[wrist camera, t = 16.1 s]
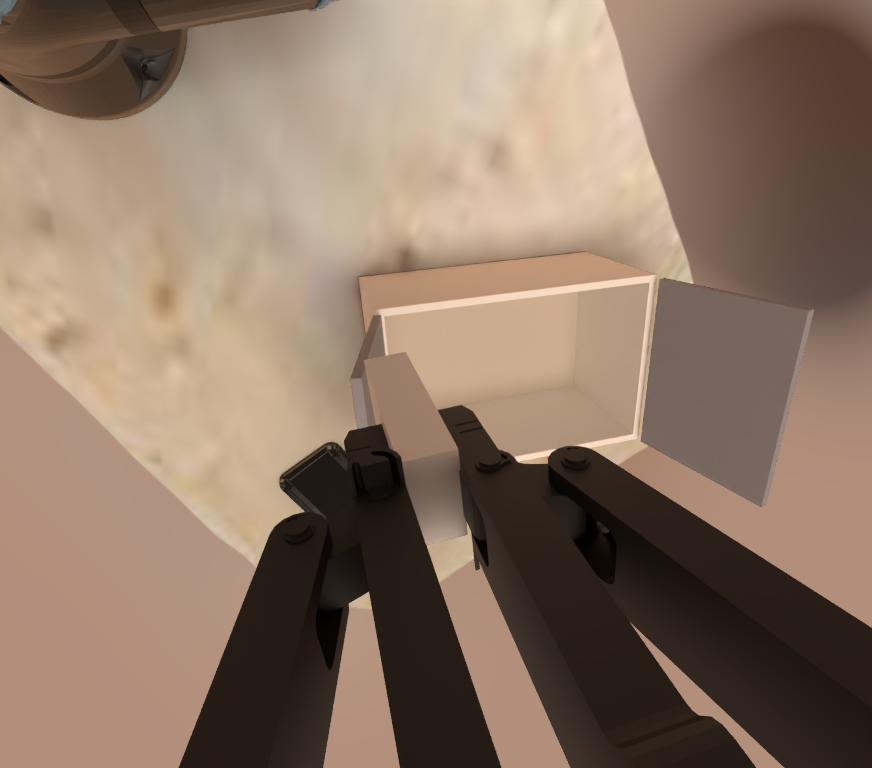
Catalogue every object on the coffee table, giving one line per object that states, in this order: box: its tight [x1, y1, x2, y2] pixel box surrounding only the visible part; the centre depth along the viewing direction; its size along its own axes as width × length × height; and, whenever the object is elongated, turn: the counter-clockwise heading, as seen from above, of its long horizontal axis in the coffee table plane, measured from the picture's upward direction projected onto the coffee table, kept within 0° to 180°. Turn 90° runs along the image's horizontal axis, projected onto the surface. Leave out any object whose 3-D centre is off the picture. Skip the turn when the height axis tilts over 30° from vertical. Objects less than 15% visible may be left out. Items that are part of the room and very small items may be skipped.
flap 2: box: [641, 278, 814, 507], centre depth 42 cm, size 16×12×1 cm
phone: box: [280, 442, 352, 519], centre depth 60 cm, size 8×1×15 cm
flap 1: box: [350, 315, 385, 429], centre depth 36 cm, size 16×12×1 cm
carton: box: [358, 252, 657, 462], centre depth 50 cm, size 16×24×12 cm, turn 94°
